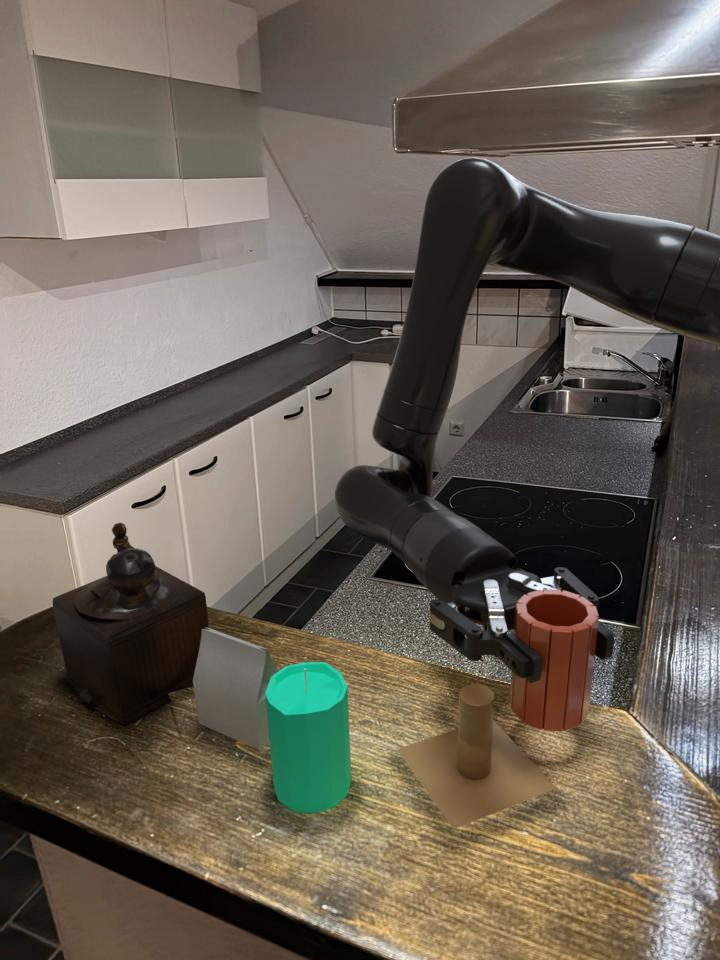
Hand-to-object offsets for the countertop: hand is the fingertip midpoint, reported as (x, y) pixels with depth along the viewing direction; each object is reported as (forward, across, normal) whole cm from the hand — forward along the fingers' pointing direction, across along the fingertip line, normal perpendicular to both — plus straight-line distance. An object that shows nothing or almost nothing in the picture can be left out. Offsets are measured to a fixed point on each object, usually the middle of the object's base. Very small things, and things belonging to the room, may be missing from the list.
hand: (574, 659), depth 57 cm
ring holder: (-2, -7, +11) cm, 13 cm away
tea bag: (-15, -22, +11) cm, 29 cm away
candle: (-6, -19, +11) cm, 23 cm away
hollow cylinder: (-2, 0, +6) cm, 6 cm away
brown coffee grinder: (-25, -28, +11) cm, 39 cm away
